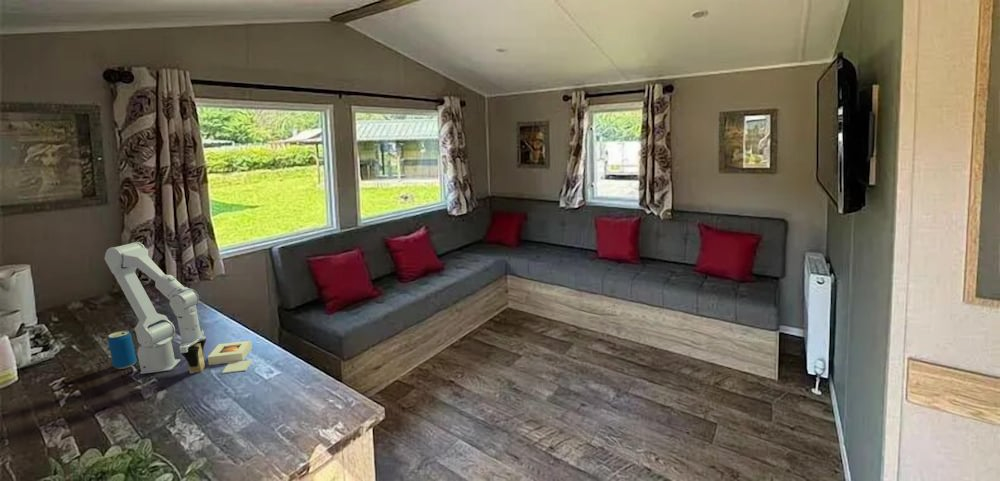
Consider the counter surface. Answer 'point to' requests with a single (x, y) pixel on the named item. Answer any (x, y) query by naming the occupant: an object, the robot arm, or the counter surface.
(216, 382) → the counter surface
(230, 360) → the cream square frame
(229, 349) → the button
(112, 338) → the beverage can
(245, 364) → the rubber mat
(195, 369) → the wood grain block
